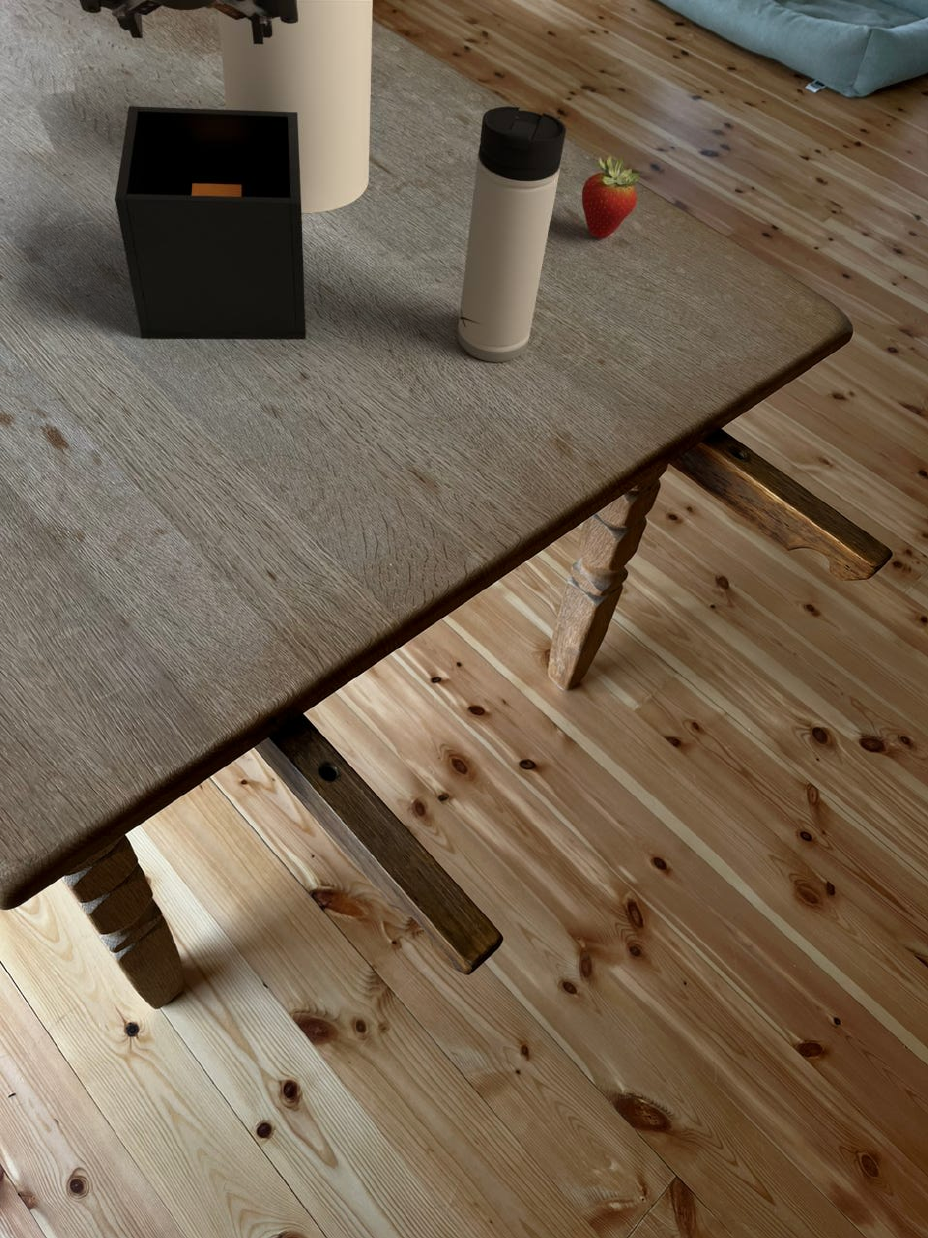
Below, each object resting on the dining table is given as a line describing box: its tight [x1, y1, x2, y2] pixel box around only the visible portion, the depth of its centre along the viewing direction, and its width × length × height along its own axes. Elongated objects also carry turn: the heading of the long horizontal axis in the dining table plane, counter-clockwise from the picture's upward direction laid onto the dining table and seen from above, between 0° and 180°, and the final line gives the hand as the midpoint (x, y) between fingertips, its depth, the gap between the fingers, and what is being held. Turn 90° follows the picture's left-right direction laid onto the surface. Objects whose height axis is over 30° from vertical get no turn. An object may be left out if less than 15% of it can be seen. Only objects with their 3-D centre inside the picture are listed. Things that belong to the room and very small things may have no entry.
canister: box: [217, 0, 374, 214], centre depth 93 cm, size 14×14×20 cm
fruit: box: [581, 155, 640, 240], centre depth 97 cm, size 5×5×8 cm
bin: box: [114, 105, 307, 340], centre depth 84 cm, size 14×14×13 cm
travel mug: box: [457, 105, 567, 363], centre depth 81 cm, size 6×7×20 cm
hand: (198, 26), depth 73 cm, fingers open, 8 cm apart
